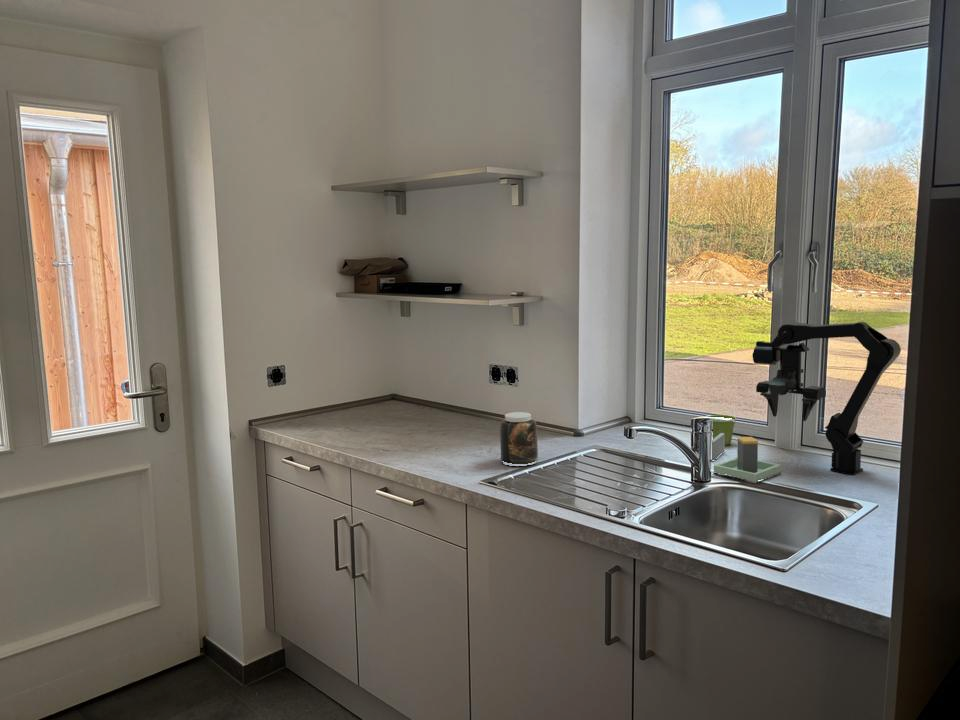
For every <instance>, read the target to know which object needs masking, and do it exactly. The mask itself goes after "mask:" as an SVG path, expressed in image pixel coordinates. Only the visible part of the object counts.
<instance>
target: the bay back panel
mask: <svg viewBox="0 0 960 720" xmlns="http://www.w3.org/2000/svg"><path fill="white" fill-rule="evenodd" d="M725 448H726V446H725V433H720V434H719V435H718V436H716V437H715V438H714V439H713V440H712V460H715V459H716V458H717V457H718V456H719V455H720V454H721V453H723V452H724V451H725V450H726V449H725ZM725 452H726V451H725ZM725 452H724V453H725ZM724 453H723V454H724ZM718 458H719V457H718ZM718 458H717V459H718ZM717 459H716V460H717ZM716 460H715V461H716Z"/></svg>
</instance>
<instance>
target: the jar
mask: <svg viewBox="0 0 960 720" xmlns="http://www.w3.org/2000/svg"><path fill="white" fill-rule="evenodd" d="M499 425H500V426H499V433H500V434H499V441H500V444H499V445H500V461H501V460H502V461H504V462H507V463H512V464H528V463H532V462H535V461H537V460H538V461H539V447H538V427H537V426H538V425H537V421H536V420H535V419H533V418H532V414H531V413H530V412H525V411H514V412H513V411H512V412H508V413H506V414H504V419H503V420H502V421H501V422H500V424H499Z"/></svg>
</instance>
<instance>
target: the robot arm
mask: <svg viewBox="0 0 960 720" xmlns="http://www.w3.org/2000/svg"><path fill="white" fill-rule="evenodd" d="M853 337H854V338H855V339H856V340H857V341H858V342H859V343H860V345H861V346H862V347H863V348H864V349H865V350H866V351H868V356H867V359H866V366H865V369H864V372H863V373H862V375H861V377H860V379H859V381H858V383H857V384H856V386H855V388H854V390H853V392H852V394H851V396H850V398H849V399H848V401H847V403H846V405H845V406H844V408H843V410H842V412H837V413H835V414H834V415H831V417H830V418H829V422H828V424H827V425H826V426H825V427H824V429H826V430H825V434H824V435H825V437H826V440H827V441H828V442H829V443H830V445H831V448H832V451H833V452H832V453H831V464H830V465H831V467H830V469H829V470H830V471H831V472H837V473H842V474H846V475H852V476H854V475H856V474H858V473H860V472H863V471H864V468H862V466H861V465H862V463H861V461H862V459H861V458H862V450H861V448H862V445H863V444H864V440H863V439H862V438H861V436H859V434H858V433H857V432H856V431H857V428H858V423H859V417H860V415H861V413H862V411H863V409H864V408H865V406H866V404H867V402H868V400H869V399H870V397H871V395H872V393H873V392H874V389H875V388H876V386H877V385H878V382H879V381H880V379H881V377H882V375H883V374H884V373H885V371H887V369H888V368H890V366H892V364H893V363H894V362H895V360H897V358H898V357H899V356H900V354H901V350H902V348H901V345H900V344H899V343H898V341H896V340H895V339H892V338H888V337H887V336H886V335H884V334H883V333H881V332H879V331H878V330H876V329H875V328H873V327H872V326H870V325H869V324H868V323H867V322H866V321H858V322H847V323H846V322H845V323H832V324H809V323H804V322H796V321H795V322H789V323H786V324H783V325H781V326H780V327H779V328H778V331H777V335H776V336H775V338H774V339H773V340H772V341H771V342H769V341H764V340H758V341H756V342H755V347H754V349H753V352H752V361H753V363H754V364H756V365H757V364H759V365H768V366H769V365H770V366H775V365H776V364H777V363H779V369H777V372H776V376H775V377H773V378H772V379H771V380H764V381H760V382H758V383H757V384H756V387H755V392H756V393H759V394H760V396H763V397H764V398H765V399H766V400H767V402H768V403H767V404H768V406H769V408H770V411H771V414H772V416H773V417H777V415H778V411H779V410H778V408H779V407H778V406H779V396H785V395H787V394H795V395H796V394H797V395H802V396H803V398H802V399H801V401H802V403H803V409H802V420H803V422H806V421H807V420H808V418H809V416H810V413H811V412H812V409H813V408H814V406H815V405H816V403H817V402H818V401H820V400H822V398H825V397H827V390H826V388H825V387H823V386H817V385H816V386H815V385H811V386H807V387H804V383H803V382H802V373H804V368H802V353H806V352H809V351H810V348H809V347H808V346H807V345H806V344H805V343H804V341H808V340H812V339H813V340H814V339H834V338H853ZM799 342H802V343H799ZM794 343H795V344H794ZM796 343H799V344H796ZM786 345H787V346H786ZM782 346H786V347H782Z"/></svg>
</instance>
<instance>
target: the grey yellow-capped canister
mask: <svg viewBox="0 0 960 720" xmlns="http://www.w3.org/2000/svg"><path fill="white" fill-rule="evenodd" d="M758 443H759V441H758V440H757V439H756V438H754V437H753V436H738V437H737V453H736V454H737V469H738V470H743V471H747V472H752V473H756V472H757V464H758V460H759V458H758V456H759V455H758V451H759V449H758V446H759V444H758Z"/></svg>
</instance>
